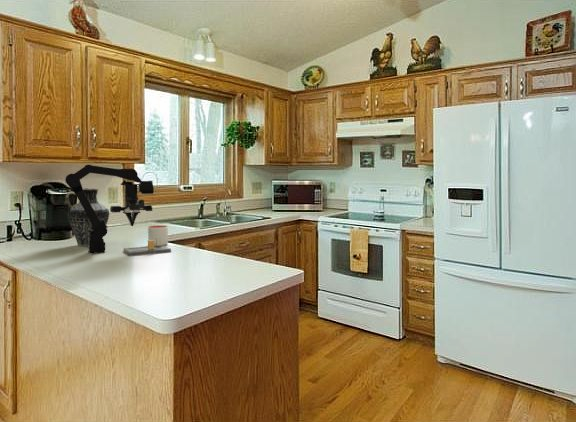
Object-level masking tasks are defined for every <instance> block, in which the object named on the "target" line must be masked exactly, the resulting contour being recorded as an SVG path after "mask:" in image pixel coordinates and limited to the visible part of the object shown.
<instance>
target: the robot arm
mask: <svg viewBox="0 0 576 422" xmlns="http://www.w3.org/2000/svg"><path fill="white" fill-rule="evenodd" d="M89 174H94V175H103V176H112V177H117V178H120V179H123V181H122V182H121V183H120V185H121V186H124V202H125V203H124V206H121V205H111V206H110V208H109V213H110V212H111V213H121V212H122V214H125V216H126V218H127V219H128V222H129V225H130V227H133V226H134V225H135V221H136V220H137V217H138V215H139V214H141V211H146V212H153V206H152V205H150V204H145V200H144V199H139V195H138V193H140V195H154V191H155V187H154V184H153V180H142V179H141V178H140V177H139V176H138V171H137V170H136V169H134V168H112V167H106V166H105V167H104V166H99V165H98V166H97V165H91V164H86V165H84V167H82V168H81V169H79V170H77V171H76V172H75V173H69V174H67V175H66V176H65V183H66V185H67V186H68V187H69V188H70V189H71V191H72V192H74V193H75V194H76V195H75V196H76V198H77V199H78V202H79V201H80V203H81V205H82V207H83V208H84V210H85V212H86V214H87V216H88V217H89V219H90V221H91V225H92V228H93V231H92V232H91V233H90V234H89V238H90V240H88V243H89V246H88V251H87V253H88V254H89V255H93V254H104V253H106V241H104V240H105V239H104V238H105V236H106V235H107V234H108V225H107V224H105V222H104V219H102V220H100V219H99V218H98V217H97V215H96V213H95V211H94V209H93V207H92V206H91V204H90V202H89V200H88V198H87V196H86V195H85V193H84V191H83V189H84V188H83V184H82V183H81V180H82V179H83V178H85V177H87V176H88V175H89ZM133 182H135V183H133Z"/></svg>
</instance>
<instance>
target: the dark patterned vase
mask: <svg viewBox="0 0 576 422" xmlns="http://www.w3.org/2000/svg"><path fill="white" fill-rule="evenodd" d="M83 191H84V193H85V195H86V196H87V198H88V200H89V202H90V204H91V206H92V207H93V209H94V211H95V213H96V215H97V217H98V218H99V219H100V220H102V219H104V222H105V224H106V225H107V224H108V222H109V221H108V220H109V218H110V209H109V208H108V207H107V206H106V205H103V204H102V203H100V202H99V201H98V198H97V197H98V196H97V195H98V191H99V189H98V188H87V187H86V188H85V187H84V188H83ZM71 195H72V196H76V194H75V193H74V192H73V191H70V192H67V193H66V195H65V198H64V199H65V202H66V204H67V213H66V214H67V219H68V222H69V224H70V228H71V229H72V233H73V235H74V238H75V240H76V243H77V246H81V247H89V243H88V240H90V238H89V234H90V233H91V232H92V231H93V228H92V225H91V221H90V219H89V217H88V216H87V214H86V212H85V210H84V208H83V207H82V205H81V203H80V201H79V200H78V202H77V203H75V204H73V205H72V204H71V202H70V196H71Z"/></svg>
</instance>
